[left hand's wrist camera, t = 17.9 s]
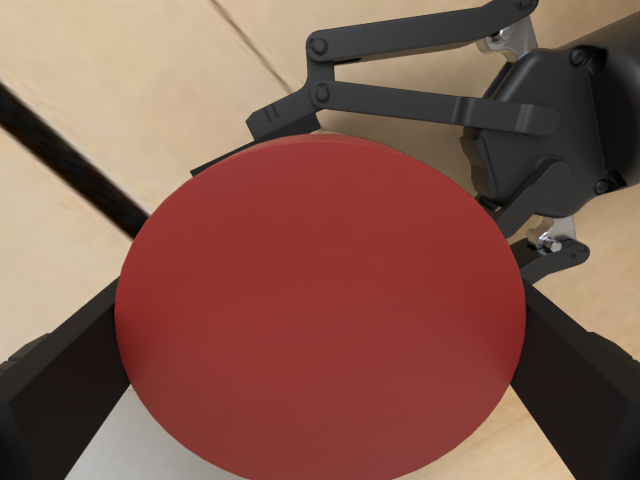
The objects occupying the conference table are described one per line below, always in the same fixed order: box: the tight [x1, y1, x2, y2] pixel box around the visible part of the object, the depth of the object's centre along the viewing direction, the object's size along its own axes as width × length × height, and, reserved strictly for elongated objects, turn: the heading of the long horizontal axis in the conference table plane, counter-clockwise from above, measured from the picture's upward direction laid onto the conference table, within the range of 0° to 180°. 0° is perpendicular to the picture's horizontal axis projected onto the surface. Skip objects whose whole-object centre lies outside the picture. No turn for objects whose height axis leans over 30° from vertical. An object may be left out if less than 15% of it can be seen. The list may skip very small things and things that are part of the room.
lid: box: [114, 134, 526, 480], centre depth 11 cm, size 11×11×2 cm
